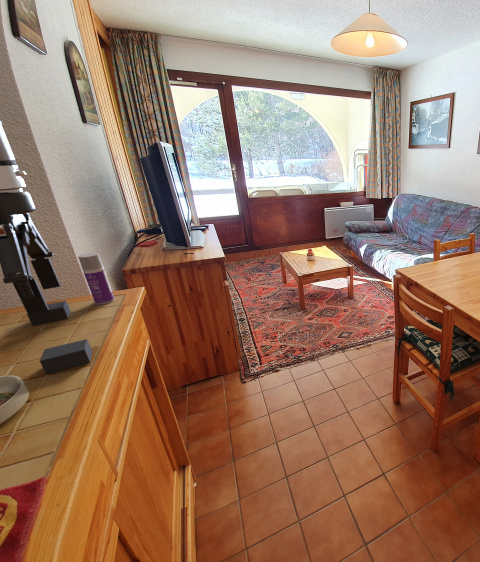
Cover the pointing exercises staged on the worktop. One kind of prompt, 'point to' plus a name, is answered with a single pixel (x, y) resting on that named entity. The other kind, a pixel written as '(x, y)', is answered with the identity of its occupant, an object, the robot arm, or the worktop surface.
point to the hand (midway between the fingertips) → (46, 298)
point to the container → (96, 278)
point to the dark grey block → (66, 356)
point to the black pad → (51, 313)
